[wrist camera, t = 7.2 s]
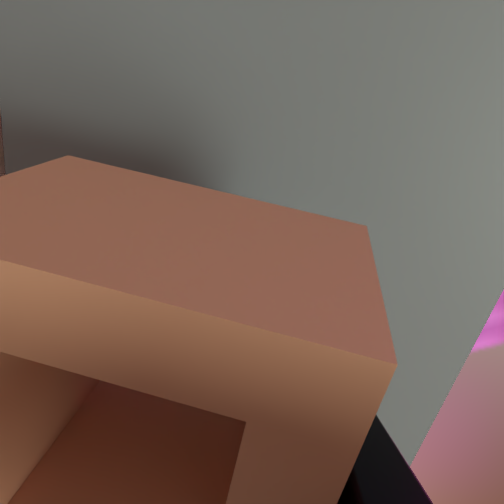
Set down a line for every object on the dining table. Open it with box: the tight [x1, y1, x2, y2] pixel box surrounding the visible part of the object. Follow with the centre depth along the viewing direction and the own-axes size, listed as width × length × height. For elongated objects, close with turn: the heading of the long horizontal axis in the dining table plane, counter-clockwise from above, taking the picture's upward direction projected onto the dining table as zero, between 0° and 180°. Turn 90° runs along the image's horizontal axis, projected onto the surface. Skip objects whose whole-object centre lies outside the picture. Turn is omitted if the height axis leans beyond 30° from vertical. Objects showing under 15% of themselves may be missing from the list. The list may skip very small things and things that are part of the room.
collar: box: [0, 155, 398, 504], centre depth 7 cm, size 6×6×4 cm
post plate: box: [0, 0, 504, 467], centre depth 12 cm, size 16×18×5 cm
